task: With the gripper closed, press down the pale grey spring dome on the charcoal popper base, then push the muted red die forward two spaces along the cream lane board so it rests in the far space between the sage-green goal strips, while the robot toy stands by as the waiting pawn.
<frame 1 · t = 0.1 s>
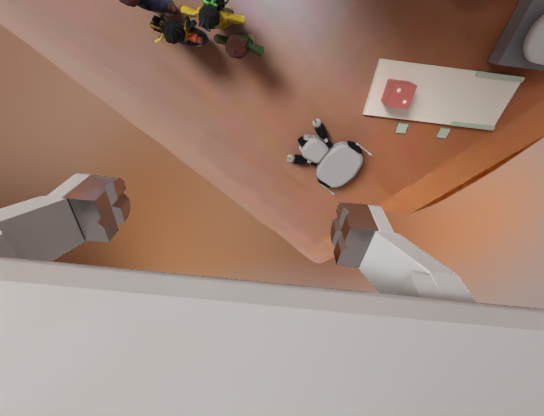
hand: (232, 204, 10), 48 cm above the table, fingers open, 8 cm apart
doll family: (201, 18, 47), on the table
lane board: (438, 95, 52), on the table
popper base: (532, 33, 46), on the table
red die: (394, 91, 51), point 1 cm above the table, touching lane board
robot toy: (325, 152, 61), on the table
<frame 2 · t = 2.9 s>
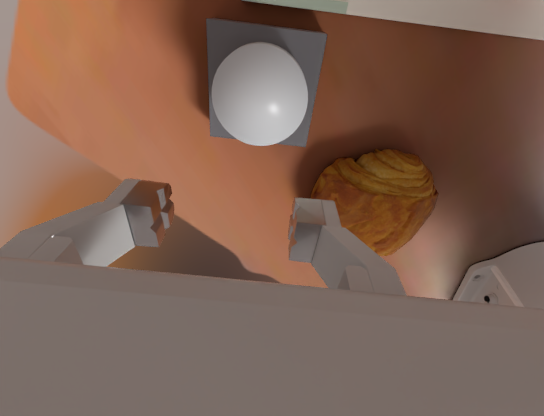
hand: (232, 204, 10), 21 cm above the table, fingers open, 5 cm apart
popper base: (264, 83, 27), on the table
dome plunger: (261, 94, 24), point 4 cm above the table, slide at 0.9 cm
croissant: (361, 194, 35), on the table
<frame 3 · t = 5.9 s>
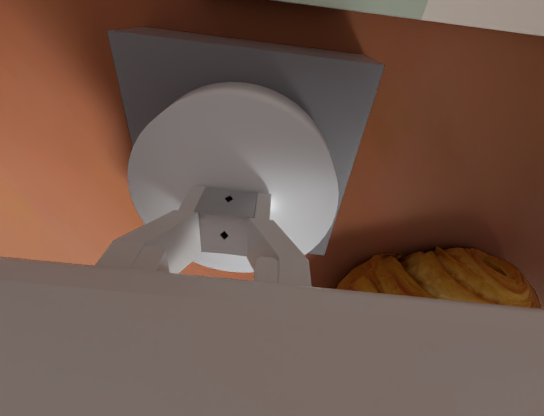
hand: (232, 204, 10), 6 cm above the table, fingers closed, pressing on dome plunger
popper base: (249, 145, 15), on the table
dome plunger: (240, 178, 12), point 4 cm above the table, slide at 1.5 cm, touching gripper
croissant: (402, 295, 23), on the table
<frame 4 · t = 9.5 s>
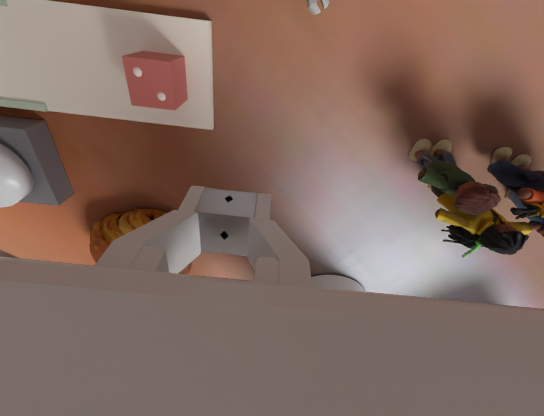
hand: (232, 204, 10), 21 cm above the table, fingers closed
doll family: (477, 177, 33), on the table
lane board: (79, 63, 27), on the table
popper base: (20, 155, 33), on the table
croissant: (151, 239, 42), on the table
red die: (166, 76, 27), point 1 cm above the table, touching lane board
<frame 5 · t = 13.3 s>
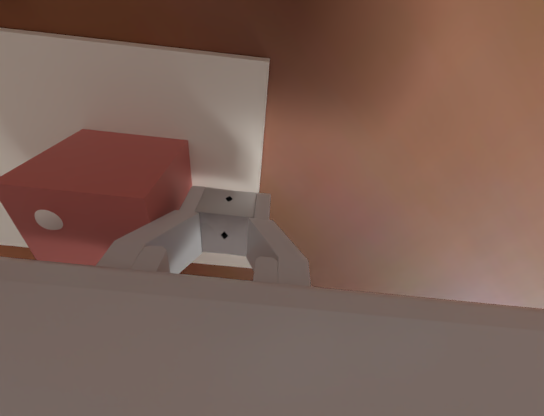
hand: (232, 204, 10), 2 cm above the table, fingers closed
red die: (145, 179, 11), point 1 cm above the table, touching gripper
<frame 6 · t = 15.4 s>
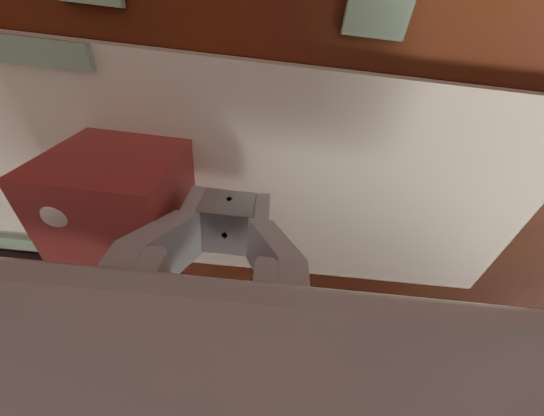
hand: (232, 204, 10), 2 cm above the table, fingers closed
lane board: (232, 179, 12), on the table
red die: (148, 178, 11), point 1 cm above the table, touching gripper, lane board
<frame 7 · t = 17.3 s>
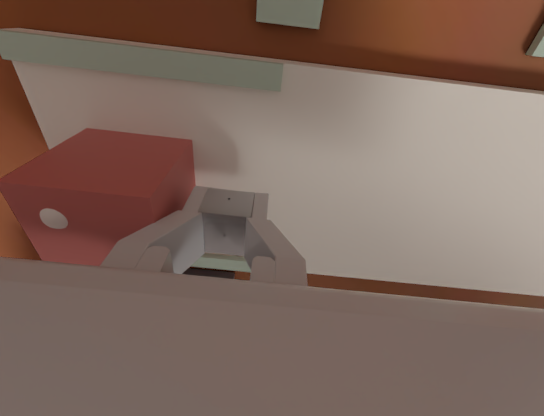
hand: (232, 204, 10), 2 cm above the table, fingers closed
lane board: (366, 193, 12), on the table
popper base: (162, 312, 19), on the table
red die: (148, 178, 11), point 1 cm above the table, touching gripper, lane board
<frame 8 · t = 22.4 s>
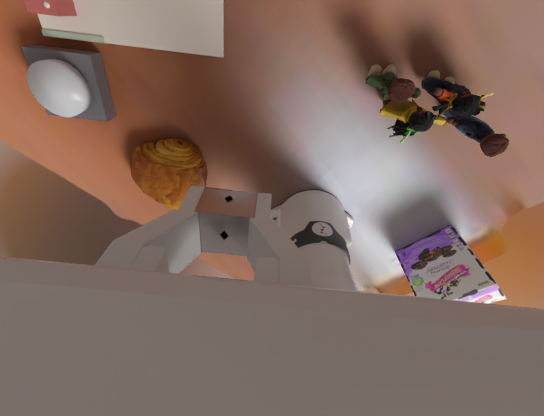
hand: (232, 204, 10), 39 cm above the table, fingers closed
doll family: (418, 97, 45), on the table
lane board: (130, 5, 38), on the table
popper base: (78, 82, 45), on the table
dome plunger: (64, 87, 42), point 4 cm above the table, slide at 1.6 cm
croissant: (174, 168, 54), on the table
candy box: (426, 244, 64), on the table
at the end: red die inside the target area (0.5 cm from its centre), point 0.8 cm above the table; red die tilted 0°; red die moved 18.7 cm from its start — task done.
